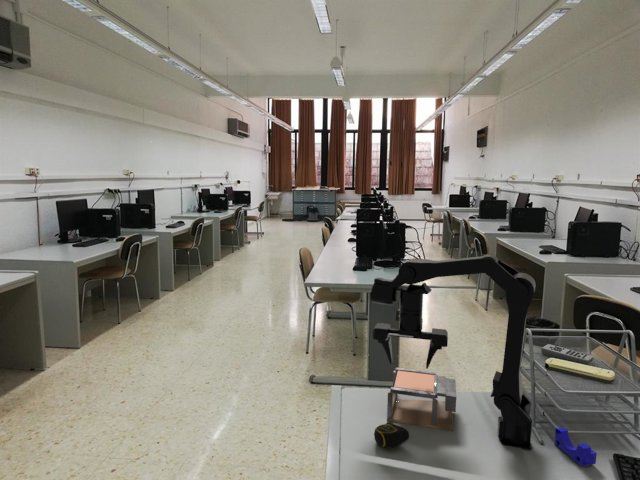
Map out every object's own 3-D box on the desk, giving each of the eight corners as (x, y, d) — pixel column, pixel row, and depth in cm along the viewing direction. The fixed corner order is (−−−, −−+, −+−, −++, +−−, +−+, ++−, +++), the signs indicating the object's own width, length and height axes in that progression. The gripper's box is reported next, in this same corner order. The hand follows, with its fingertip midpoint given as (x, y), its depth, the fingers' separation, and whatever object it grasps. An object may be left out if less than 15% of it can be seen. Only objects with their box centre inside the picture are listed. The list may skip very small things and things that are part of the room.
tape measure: (412, 443, 97) (409, 427, 97) (388, 454, 94) (385, 437, 94) (393, 434, 103) (390, 419, 103) (370, 444, 100) (367, 428, 100)
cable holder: (595, 463, 93) (597, 446, 92) (581, 465, 92) (583, 448, 92) (567, 442, 101) (568, 426, 100) (554, 444, 100) (555, 427, 99)
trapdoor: (454, 393, 115) (455, 377, 114) (455, 412, 106) (456, 394, 105) (397, 385, 119) (397, 369, 119) (393, 403, 110) (393, 386, 109)
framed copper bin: (451, 403, 117) (453, 374, 116) (452, 431, 104) (454, 398, 103) (393, 395, 122) (393, 366, 121) (386, 420, 109) (387, 388, 108)
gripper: (448, 302, 116) (445, 358, 118) (379, 297, 121) (377, 350, 123) (448, 314, 105) (445, 375, 107) (373, 308, 110) (371, 366, 112)
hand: (408, 365), depth 112 cm, fingers open, 9 cm apart
